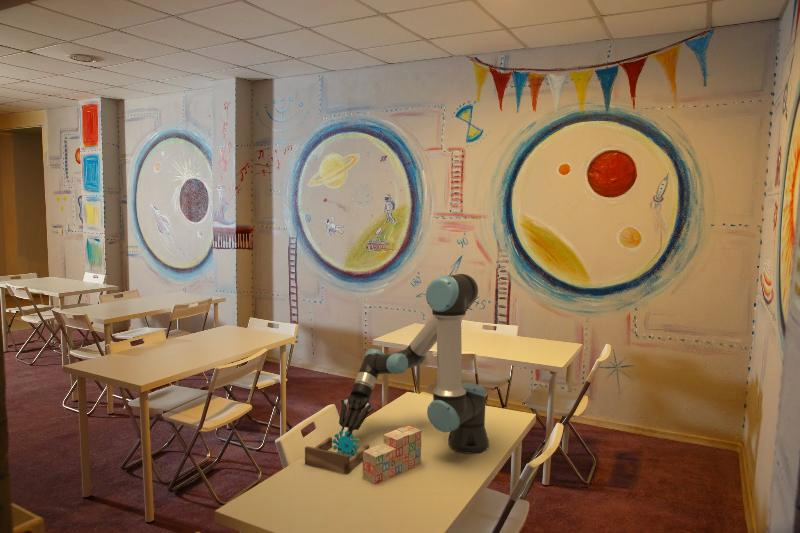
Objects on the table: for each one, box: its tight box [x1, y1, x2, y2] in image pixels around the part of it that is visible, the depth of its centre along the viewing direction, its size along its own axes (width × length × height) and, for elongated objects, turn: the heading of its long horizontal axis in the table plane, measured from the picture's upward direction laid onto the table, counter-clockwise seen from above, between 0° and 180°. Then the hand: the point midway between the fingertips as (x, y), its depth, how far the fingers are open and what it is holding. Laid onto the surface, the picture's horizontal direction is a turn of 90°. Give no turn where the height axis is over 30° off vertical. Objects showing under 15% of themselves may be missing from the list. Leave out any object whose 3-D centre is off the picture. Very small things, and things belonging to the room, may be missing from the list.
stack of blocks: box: [362, 425, 422, 485], centre depth 179 cm, size 21×6×12 cm, turn 135°
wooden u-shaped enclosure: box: [304, 436, 370, 475], centre depth 186 cm, size 16×16×6 cm
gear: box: [332, 430, 360, 459], centre depth 190 cm, size 11×6×10 cm
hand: (341, 445), depth 191 cm, fingers closed
